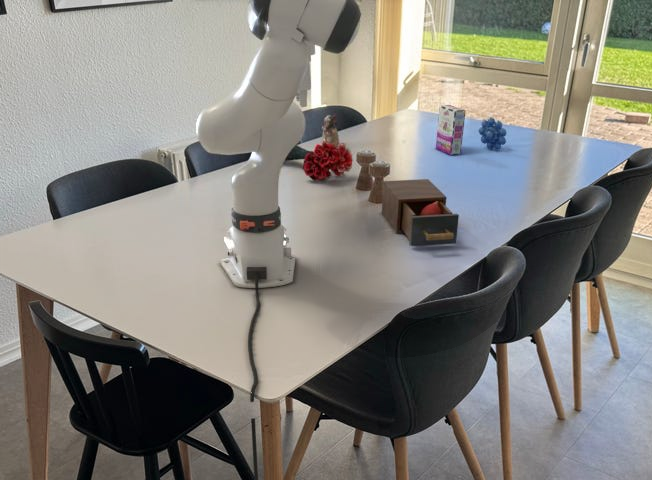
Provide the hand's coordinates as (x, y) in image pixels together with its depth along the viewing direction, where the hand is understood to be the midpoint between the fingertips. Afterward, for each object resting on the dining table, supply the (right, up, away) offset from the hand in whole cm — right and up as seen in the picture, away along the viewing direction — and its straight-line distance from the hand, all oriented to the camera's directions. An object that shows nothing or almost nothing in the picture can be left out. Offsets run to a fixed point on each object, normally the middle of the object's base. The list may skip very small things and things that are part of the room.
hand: (301, 103), depth 189 cm
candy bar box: (+53, +11, +82) cm, 98 cm away
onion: (+34, -33, +3) cm, 48 cm away
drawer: (+34, -36, +3) cm, 50 cm away
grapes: (+69, +13, +85) cm, 111 cm away
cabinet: (+31, -29, +16) cm, 45 cm away
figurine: (+7, +15, +86) cm, 88 cm away
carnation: (-1, -4, +56) cm, 56 cm away
